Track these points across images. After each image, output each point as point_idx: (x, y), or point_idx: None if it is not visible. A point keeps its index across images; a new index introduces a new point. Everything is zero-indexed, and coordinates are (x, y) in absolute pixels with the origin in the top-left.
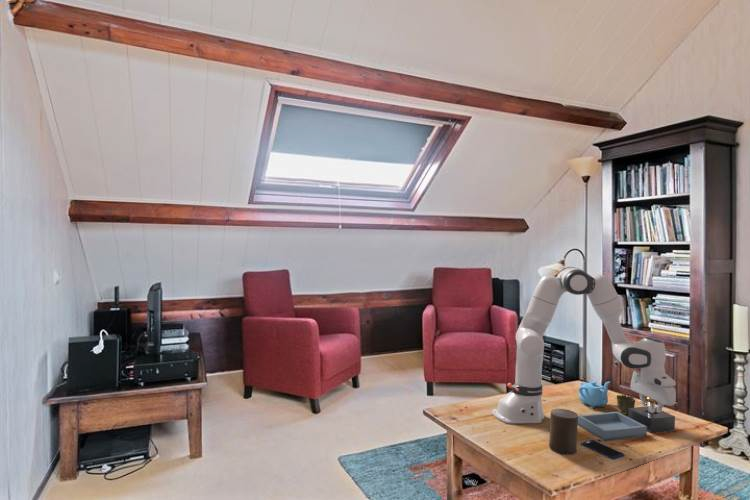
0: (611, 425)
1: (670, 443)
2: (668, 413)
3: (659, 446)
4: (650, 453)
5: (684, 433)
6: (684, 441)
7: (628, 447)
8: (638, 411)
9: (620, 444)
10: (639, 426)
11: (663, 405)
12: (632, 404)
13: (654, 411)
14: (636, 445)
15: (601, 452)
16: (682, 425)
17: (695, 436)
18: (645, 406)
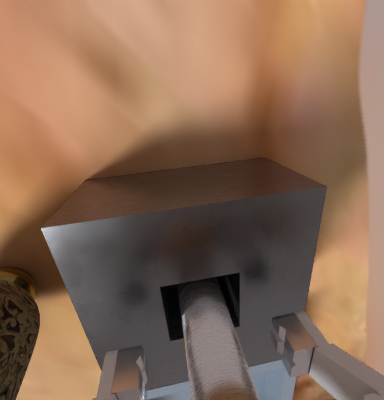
0: (185, 393)
1: (351, 268)
2: (257, 196)
3: (348, 312)
4: (364, 352)
5: (309, 126)
6: (366, 202)
7: (316, 382)
8: (179, 371)
9: (294, 392)
10: (289, 377)
11: (380, 381)
12: (16, 353)
13: (226, 308)
14: None
15: None
16: (206, 14)
17: (359, 91)
18: (68, 290)
